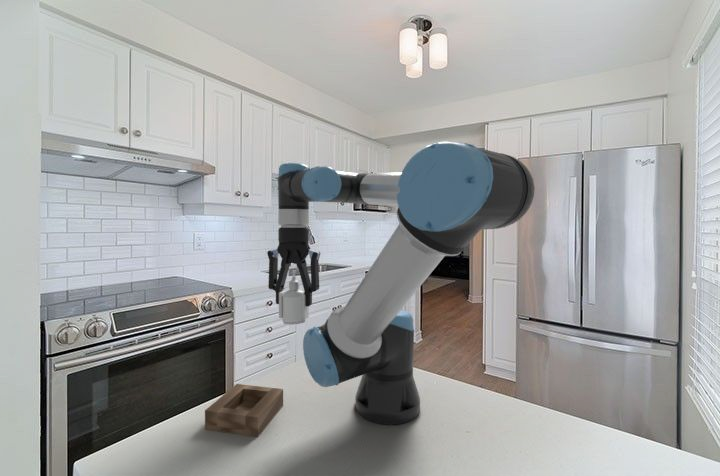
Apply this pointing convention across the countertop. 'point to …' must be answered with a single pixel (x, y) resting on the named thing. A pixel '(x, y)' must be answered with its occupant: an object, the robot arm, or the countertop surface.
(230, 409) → the walnut bottle stand
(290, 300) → the eye dropper bottle
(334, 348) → the robot arm
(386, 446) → the countertop surface
